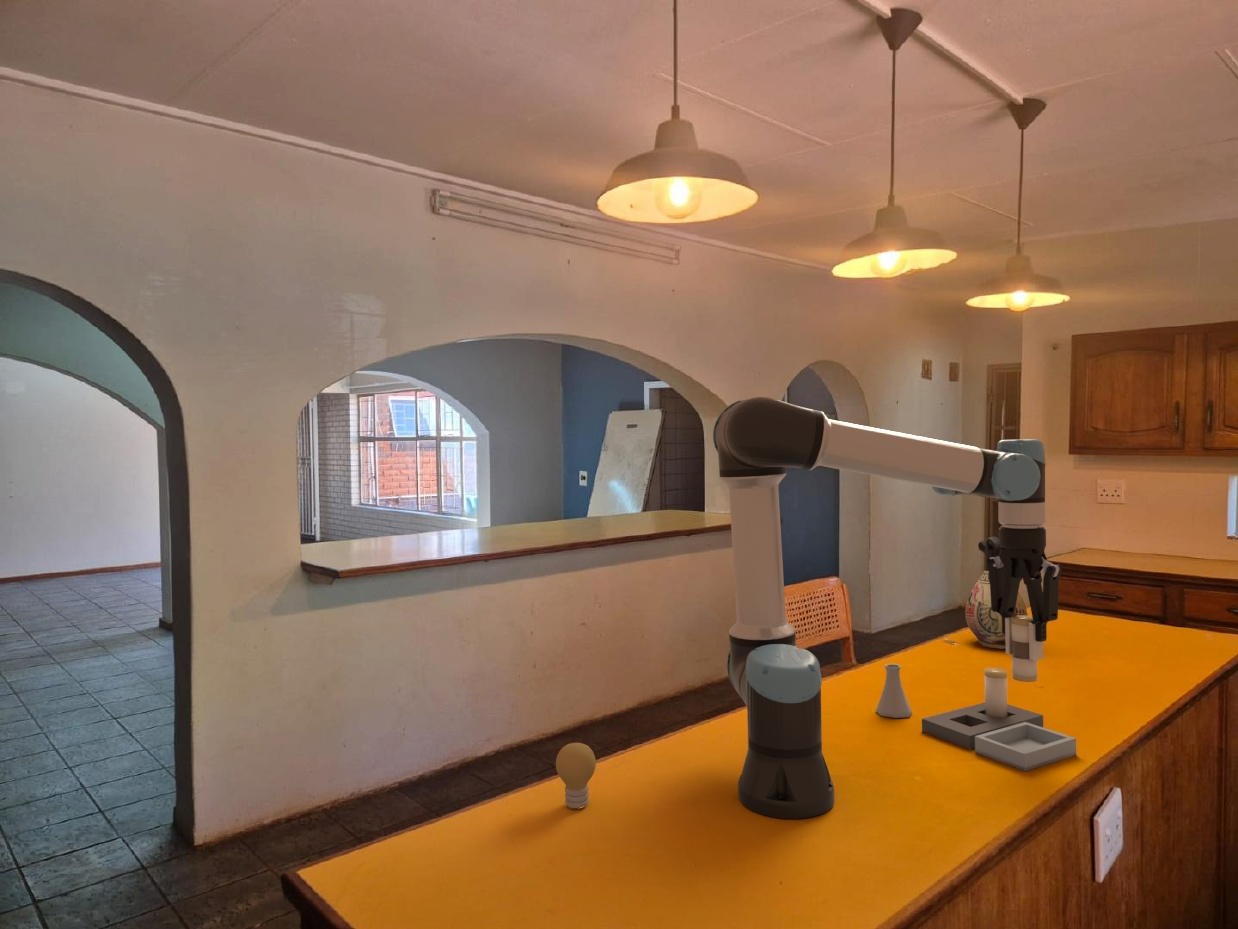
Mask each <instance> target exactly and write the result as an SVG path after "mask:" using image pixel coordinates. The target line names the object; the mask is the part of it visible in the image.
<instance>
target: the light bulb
mask: <svg viewBox="0 0 1238 929" xmlns="http://www.w3.org/2000/svg"><path fill="white" fill-rule="evenodd" d="M555 759H556V760H555V769H556V772H557V775H558V777H559V778H560V779H561V781H562V782H563V783H564V784H565V787H564V793H565V794H564V798H565V799H564V803H565V805H566V806H567V807H568V808H569V807H571V808H580V807H583V806H585V807H586V806H588V804H589V803H590V802H589V800H590V799H589V786H588V783H589V781H590V780H591V779H592V777H593V775H594V774H595V770H596V766H597V761H596V756H595V753H594V751H593V750H592V749H591V748H590V746H589V745H587V744H584V743H583V742H582V743H581V742H570V743H568V744H565V745H564V746H563V747H562V748H561V749H560V750H559V751H558V754H557V756H556V758H555ZM571 808H570V809H571Z"/></svg>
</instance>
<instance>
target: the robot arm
mask: <svg viewBox="0 0 1238 929" xmlns="http://www.w3.org/2000/svg"><path fill="white" fill-rule="evenodd" d="M712 430H713V432H712V441H713V444H714V448H715V451H716V452H717V456H718V459H717V460H718V472H719V479H720V480H721V482H723V483H724V484H725V485H726V486H727V488H728V493H729V510H730V527H731V543H732V559H733V560H732V561H733V563H732V564H733V578H734V596H735V609H736V622H735V623H734V624H733V625H732V626H731V627H730V628H729V630H728V633H729V634H728V635H729V637H728V638H729V651H728V653H727V657H726V671H727V676H728V679H729V681H730V684H731V686H732V687H733V688H734V690H735V691H736V693H737V695H739V697H740V698H741V699H742V701H743V702H744V704H745V705H746V711H747V715H746V716H747V744H748V745H747V752H746V755H745V758H744V762H743V766H742V771H741V774H740V775H739V778H738V780H737V781H738V784H737V793H738V799H739V802H740V803H741V804H742V805H743V806H745V807H746V808H748V810H751V811H753V812H755V813H758V814H760V815H764V816H768V817H772V818H777V819H792V820H793V819H797V820H798V819H808V818H813V817H817V816H820V815H822V814H825V813H827V812H828V811H829V810H831V809H832V808H833V807H834V804H835V787H834V783H833V780H832V778H831V774H830V772H829V768H828V766H827V763H826V760H825V757H824V754H823V747H822V746H823V743H822V742H823V741H822V738H823V737H822V734H823V732H822V682H823V678H822V673H821V668H820V663H819V660H818V658H817V656H815V655H814V654H813V653H812V652H810V651H809V650H807V649H805V648H802V647H801V648H799V647H798V646H797V636H796V628H795V627H794V626H793V625H792V624H791V623H790V622H788V620H787V616H786V614H787V613H786V598H785V583H784V582H785V581H784V579H785V578H784V565H783V564H784V563H783V547H782V544H783V543H782V531H781V529H782V528H781V513H780V512H781V511H780V494H779V492H780V491H779V484H781V481H782V480H783V479H784V478H785V477H786V476H787V468H794V469H800V470H801V469H802V470H806V471H812V470H814V469H815V468H817V467H819V466H820V467H825V468H832V469H836V470H842V471H848V472H853V473H857V474H863V475H870V476H874V477H880V478H886V479H891V480H896V481H901V482H907V483H912V484H918V485H923V486H928V487H932V489H933V491H934V493H936V494H938V495H941V496H942V495H945V496H956V495H957V496H960V495H963V496H964V495H965V496H966V495H967V496H975V497H982V498H983V497H984V498H990V499H991V498H992V499H997V500H998V523H999V524H1001V526H1000V527H999V528H998V539H999V545H1000V546H1001V552H1000V554H999V556H997V557H993V558H987V559H986V558H985V559H986V560H985V562H986V563H987V566H988V568H989V572H990V592H991V609H992V611H993V612H997V613H999V614H1000V615H1001V617H1002V632H1003V634H1005V641H1006V649H1005V655H1009V656H1010V655H1012V630H1011V617H1012V616H1013V615H1016V614H1017V613H1016V612H1015V608H1016V602H1017V596H1018V592H1019V589H1020V584H1021V582H1022V580H1023V584H1024V585H1025V587H1026V591H1027V596H1028V601H1029V602H1028V603H1029V606H1030V612H1031V616H1032V617H1033V620H1032V621H1031V623H1029V660H1037V661H1038V660H1041V659H1044V642H1046V641H1047V638H1048V637H1047V634H1048V633H1047V626H1048V625H1047V624H1048V622H1053V621H1057V620H1058V616H1059V578H1060V576H1061V573H1062V571H1063V568H1062V565H1061V564H1053V562H1050V561H1049V560H1048V559H1047V556H1046V553H1045V549H1046V547H1047V530H1046V528H1045V527H1044V526H1043V525H1045V524H1046V521H1047V520H1046V466H1047V463H1046V456H1045V448H1044V444H1043V441H1041V440H1040V439H1036V438H1032V439H1031V438H1030V439H1029V438H1028V439H1027V438H1026V439H1025V438H1021V439H1002V440H999V441H998V442H997V447H996V449H995V450H992V449H988V448H982V447H981V448H980V447H977V446H972V445H966V444H961V443H955V442H950V441H946V440H939V439H935V438H929V437H926V436H918V435H913V434H908V433H903V432H899V431H892V430H887V429H882V428H876V427H871V426H866V425H860V424H855V423H850V422H845V421H842V420H841V421H839V420H835V419H830V418H828V417H827V415H826V414H825V412H824V411H821V410H816V409H811V408H807V407H803V406H798V405H796V404H791V403H789V402H785V401H782V400H779V399H776V398H771V397H768V396H767V397H766V396H765V397H764V396H757V397H756V396H755V397H752V398H751V397H750V398H746V399H741V400H737V401H735V402H733V403H731V404H729V405H728V406H726V407H725V408H724V409H723V410H722V412H721V413H720V414H719V415H718V416H717V418H716V420H715V422H714V425H713V429H712ZM986 563H985V564H986ZM1003 566H1004V569H1003ZM1041 572H1042V573H1041ZM1004 574H1005V576H1004ZM1042 574H1044V575H1043V577H1042ZM1004 580H1005V584H1004Z"/></svg>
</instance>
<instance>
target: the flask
mask: <svg viewBox="0 0 1238 929" xmlns="http://www.w3.org/2000/svg"><path fill="white" fill-rule="evenodd" d="M901 667H902V666H901V665H900V664H897V663H885V665H884V669H885V671H886V674H885V675H886V676H885V682H884V686H883V689H882V692H881V695H880V698H879V701H878V703H877V707H876V709H875V712H876V713H877V714H879V716H881V717H887V718H895V719H899V718H910V717H911V716H912V714H913V712H912V709H911V706H910V704H909V701H908V698H907V696H906V693H905V690H904V688H903V685H902V681H901V676H900V674H901V673H900V670H901V669H902V668H901Z"/></svg>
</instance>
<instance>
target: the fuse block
mask: <svg viewBox="0 0 1238 929" xmlns="http://www.w3.org/2000/svg"><path fill="white" fill-rule="evenodd" d="M1007 716H1008V717H1005V718H1002V719H997V718H994V717H991V716H988V715H985V702H983V703H981V702H980V703H977V704H973V705H971V706H967V707H962V708H958V709H954V710H950V711H947V712H943V713H939V714H935V715H931V716H927V717H922V718H921V732H923V733H926V734H928V735H931V736H933V737H936V738H939V739H941V740H945V741H946V742H950V743H952V744H954V745H958V746H960V747H963V748H965V749H967V750H972V749H975V736H977V735H981V734H984V733H988V732H992V731H995V730H999V729H1002V728H1006V727H1009V726H1013V725H1016V724H1020V723H1023V722H1027V723H1030V724H1033V725H1036V726H1039V727H1043V728H1044V714H1040V713H1037V712H1035V711H1031V710H1028V709H1025V708H1021V707H1017V706H1014V705H1011V704H1008V703H1007Z"/></svg>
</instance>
